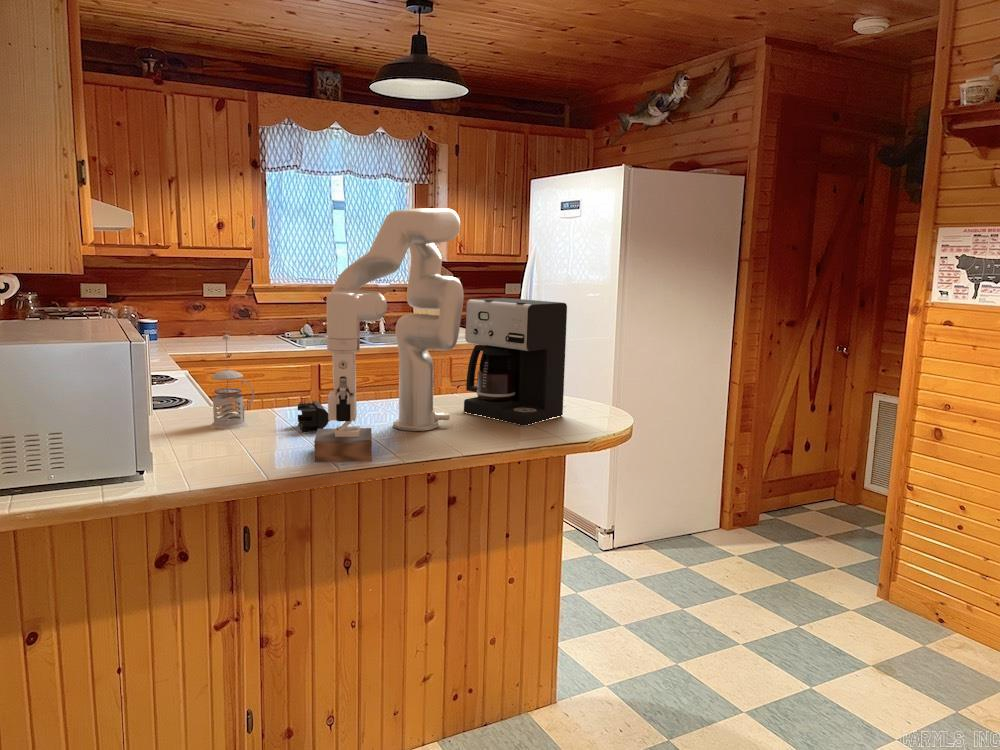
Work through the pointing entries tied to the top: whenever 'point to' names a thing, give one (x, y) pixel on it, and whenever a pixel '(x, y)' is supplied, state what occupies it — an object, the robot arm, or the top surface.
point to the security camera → (345, 429)
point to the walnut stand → (343, 446)
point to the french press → (229, 400)
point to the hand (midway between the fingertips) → (344, 416)
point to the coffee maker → (516, 358)
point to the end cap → (312, 417)
